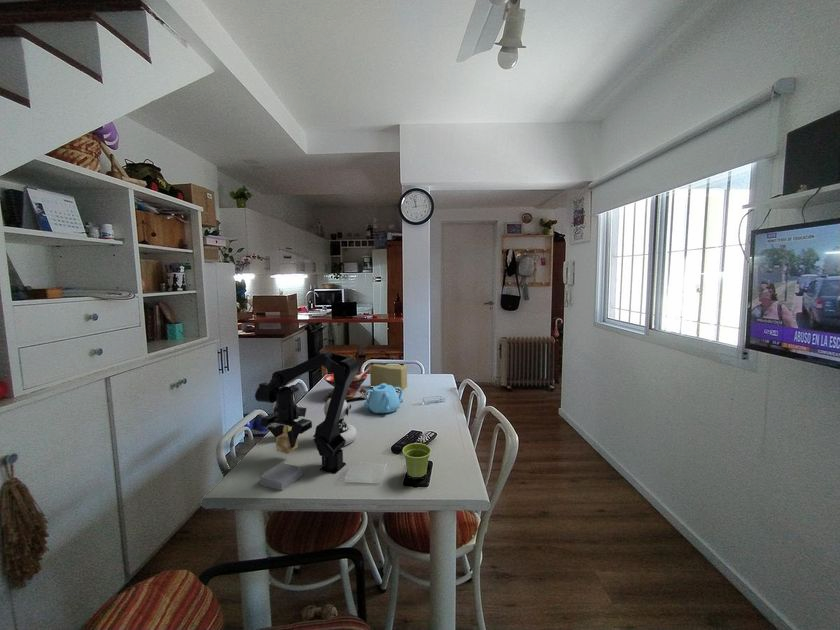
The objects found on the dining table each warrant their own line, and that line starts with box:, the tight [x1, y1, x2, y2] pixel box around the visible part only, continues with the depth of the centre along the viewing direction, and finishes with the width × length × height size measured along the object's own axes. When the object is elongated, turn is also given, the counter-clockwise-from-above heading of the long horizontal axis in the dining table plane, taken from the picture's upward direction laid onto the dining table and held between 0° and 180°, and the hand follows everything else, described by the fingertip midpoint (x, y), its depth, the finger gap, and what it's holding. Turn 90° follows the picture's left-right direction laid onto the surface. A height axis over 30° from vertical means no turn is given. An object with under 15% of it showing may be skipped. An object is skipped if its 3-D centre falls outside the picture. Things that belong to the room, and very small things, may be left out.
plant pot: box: [402, 442, 432, 477], centre depth 107 cm, size 9×9×9 cm
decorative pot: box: [363, 383, 404, 414], centre depth 163 cm, size 16×16×14 cm
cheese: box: [369, 363, 408, 391], centre depth 195 cm, size 22×10×15 cm, turn 73°
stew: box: [323, 365, 372, 402], centre depth 184 cm, size 28×24×16 cm
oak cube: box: [275, 431, 299, 454], centre depth 117 cm, size 5×5×5 cm
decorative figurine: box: [323, 398, 358, 447], centre depth 131 cm, size 15×15×20 cm
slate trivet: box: [259, 462, 304, 492], centre depth 106 cm, size 9×9×2 cm
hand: (287, 445), depth 117 cm, fingers closed on oak cube, 5 cm apart
